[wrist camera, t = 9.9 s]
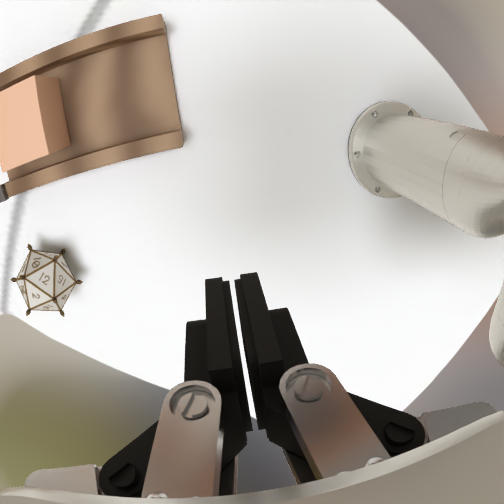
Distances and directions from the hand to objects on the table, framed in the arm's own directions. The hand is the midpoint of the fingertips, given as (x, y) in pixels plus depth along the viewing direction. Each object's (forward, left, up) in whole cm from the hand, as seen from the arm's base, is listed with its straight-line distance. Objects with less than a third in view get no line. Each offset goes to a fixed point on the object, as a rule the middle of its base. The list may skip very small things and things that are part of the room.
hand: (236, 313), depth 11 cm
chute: (+13, -10, -27) cm, 31 cm away
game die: (+22, +8, -27) cm, 36 cm away
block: (+17, -10, -26) cm, 32 cm away
